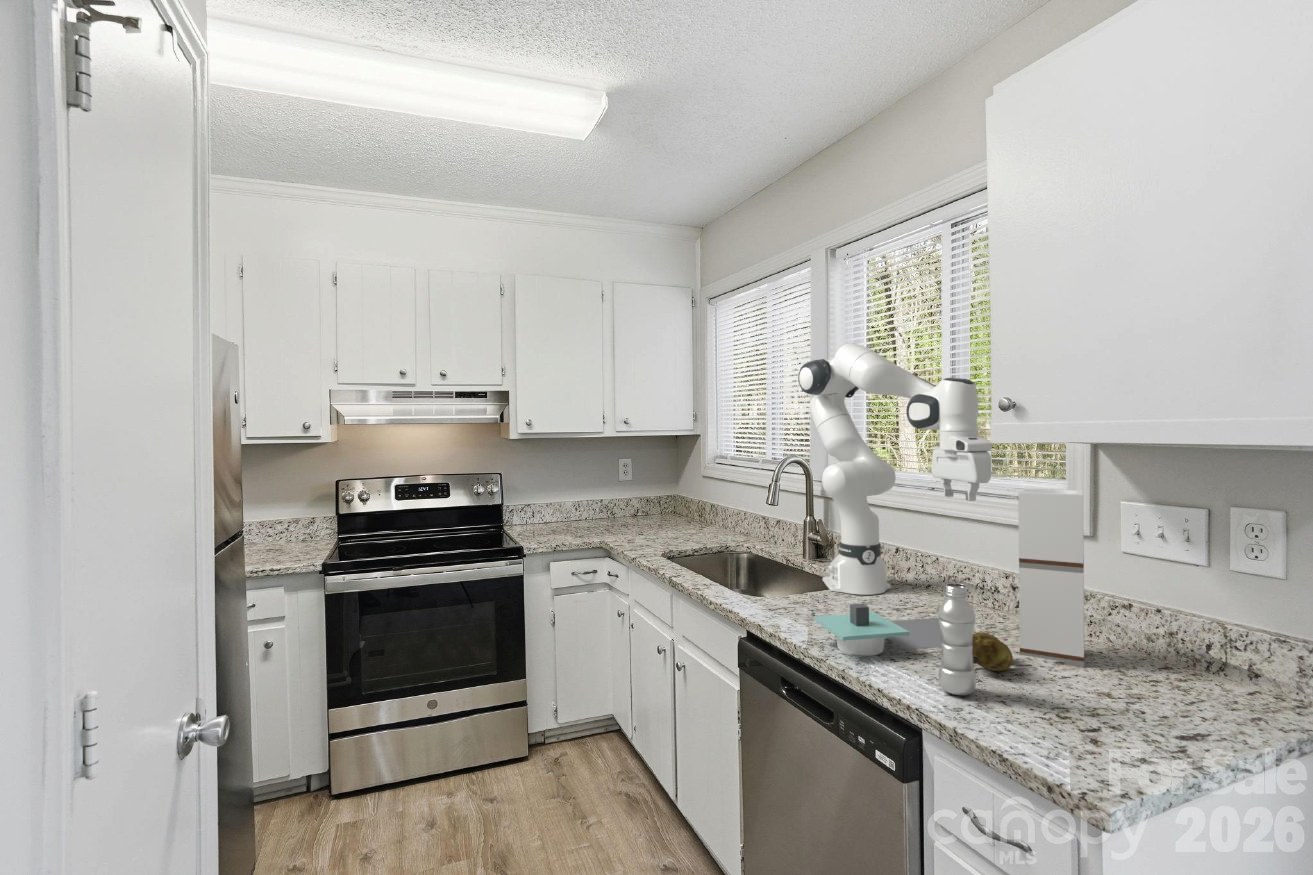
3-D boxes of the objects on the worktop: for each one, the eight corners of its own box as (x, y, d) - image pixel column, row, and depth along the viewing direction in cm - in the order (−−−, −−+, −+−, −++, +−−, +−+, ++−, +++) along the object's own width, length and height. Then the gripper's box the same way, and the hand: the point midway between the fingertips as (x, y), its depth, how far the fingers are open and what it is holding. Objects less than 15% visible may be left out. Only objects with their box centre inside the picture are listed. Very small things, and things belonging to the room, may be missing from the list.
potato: (1031, 670, 132) (1031, 631, 132) (988, 683, 126) (988, 641, 126) (994, 658, 139) (994, 620, 139) (951, 668, 134) (951, 629, 134)
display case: (1084, 651, 142) (1083, 490, 141) (1084, 667, 133) (1082, 495, 133) (1024, 642, 148) (1022, 488, 148) (1019, 657, 140) (1018, 492, 139)
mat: (864, 624, 164) (864, 622, 164) (939, 620, 166) (939, 617, 166) (903, 651, 144) (903, 649, 144) (988, 646, 147) (988, 643, 147)
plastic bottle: (976, 688, 124) (974, 582, 124) (977, 702, 118) (976, 591, 117) (938, 683, 127) (937, 579, 126) (938, 696, 120) (936, 588, 120)
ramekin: (849, 639, 154) (849, 616, 153) (895, 650, 146) (895, 626, 146) (824, 651, 146) (824, 628, 145) (872, 663, 138) (872, 638, 138)
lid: (813, 619, 152) (813, 599, 152) (874, 615, 154) (874, 595, 154) (843, 640, 137) (842, 617, 137) (909, 635, 140) (909, 612, 139)
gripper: (924, 442, 173) (925, 494, 173) (971, 444, 153) (971, 503, 153) (947, 441, 174) (947, 494, 174) (996, 443, 153) (997, 502, 154)
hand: (959, 498), depth 163 cm, fingers open, 8 cm apart
